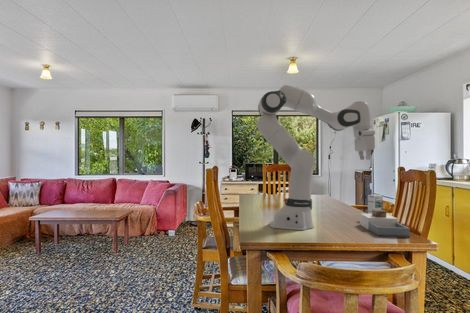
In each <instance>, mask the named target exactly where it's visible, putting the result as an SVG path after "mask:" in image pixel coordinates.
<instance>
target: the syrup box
mask: <svg viewBox="0 0 470 313" xmlns="http://www.w3.org/2000/svg"><path fill="white" fill-rule="evenodd" d="M383 202H384V197H383V195H381V194H368V195H367V214H372V209H374V210H383V209H384V206H383V205H384V204H383Z"/></svg>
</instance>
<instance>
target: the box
mask: <svg viewBox="0 0 470 313" xmlns="http://www.w3.org/2000/svg"><path fill="white" fill-rule="evenodd" d="M368 231H369V232H371V233H372V234H374V235H376V236H377V237H387V238H388V237H391V238H410V237H411V234H410V233H411V232H410V231H411V228H410V227H408V226H406V225H403V224H401V223H399V222H398V223H396V227H379V226H377V225H375V224H373V223H371V222H368Z"/></svg>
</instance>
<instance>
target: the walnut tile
mask: <svg viewBox="0 0 470 313" xmlns="http://www.w3.org/2000/svg"><path fill="white" fill-rule="evenodd" d="M386 214H387V211H386V210H374V209H372V215H373V216H375V217H386Z"/></svg>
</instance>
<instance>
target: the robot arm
mask: <svg viewBox="0 0 470 313" xmlns="http://www.w3.org/2000/svg"><path fill="white" fill-rule="evenodd" d="M283 107H284V108H285V107H286V108H289V109H292V110H294V111H296V112H299V113H301V114H305V115H308V116H311V117H313V118H315V119H318V120H320V121H321V122H324V123H325V124H326V125H328V127H329V128H331V129H332V130H333V131H337V132H341V131H344V129H348V128H350V127H352V130H353V131H352V132H353V137H354V151H355V152H358V156H359V160H360V161H361V160H362V161H363V160H365V159H366V160H367V161H368V160H369V161H370V160H371V155H372V151H375V148H376V141H375V140H376V138H375V135H376V130H374V129H373V127H372V124H371V119H372V118H371V116H372V115H371V111H370V107H369V104H368V103H367V102H365V101H355V102H353V103H351V105H349V106H347V107H345V108H344V109H341V110H338V111H337V112H336V111H335V112H334V111H333V112H332V111H330V110H328V109H325V108H324V107H321V106H320V105H318V104H317V101H316V97H315V96H314V95H313V94H312V93H311V92H309V91H308V90H305V89H302V88H299V87H297V86H293V85H289V84H284V85H282V86H281V87H280V88H279V89H278V90H275V91H274V90H271V91H268V92H266V93H265V94H263V96H262V97H261V98H260V100H259V103H258V105H257V109H258V113H259V117H258V119H257V121H256V123H255V126H256V128H257V129H258V132H259V133H260V134H261V136H263V138H264V139H265V140H266V141H267V142H268V144H269V145H270V146H271V147H272V148H273V149H274V150H275V151H276V152H277V153H278V155H279V156H280V157H281V158H282V160H283V161H284V162H285V163H286V164H287V165H288V166H289V167H290V176H289V183H288V197H287V198H286V197H284V198H283V202H284V205H283V206H282V207H281V208H280V209H278V210H277V211H276V212H274V215H273V220H270V221H269V222H268V223H269V224H268V225H269V227H271V228H272V229H279V230H281V229H283V230H295V231H297V230H298V231H305V230H310V229H313V228H314V227H315V225H314V222H313V216H312V210H313V209H312V208H313V200H312V183H313V182H312V181H313V174H314V167H315V166H314V165H315V157H314V154H312V153H311V152H310V151H309V150H306V149H303V148H302V147H301V145H299V143H298V142H297V140H296V139H295V138H294V136H293V135H292V134H291V133H290V132H289V131H288V130H287V129H286V128H285V126H284V125H282V124H281V122H280V121H279V120H278V118H277V114H278V113H279V111H281V109H282V108H283ZM364 152H365V153H366V154H365V155H366V156H364Z"/></svg>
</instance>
